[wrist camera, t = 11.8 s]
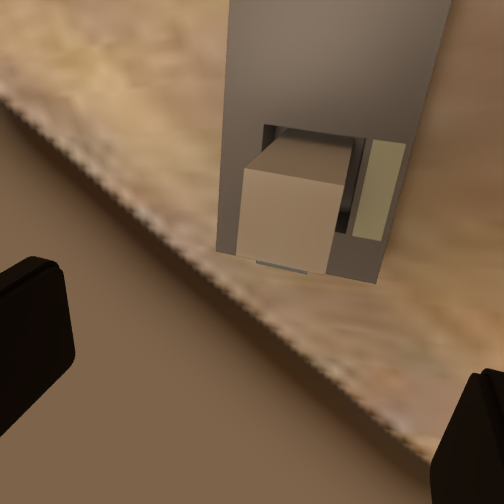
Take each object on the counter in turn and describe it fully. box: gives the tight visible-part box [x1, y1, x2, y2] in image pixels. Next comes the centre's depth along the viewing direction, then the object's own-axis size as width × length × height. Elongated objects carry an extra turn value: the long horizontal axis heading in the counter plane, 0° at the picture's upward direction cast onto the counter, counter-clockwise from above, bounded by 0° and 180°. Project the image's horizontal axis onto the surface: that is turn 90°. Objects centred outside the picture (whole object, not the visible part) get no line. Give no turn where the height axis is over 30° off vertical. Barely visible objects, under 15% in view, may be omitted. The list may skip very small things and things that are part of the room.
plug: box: [236, 128, 354, 275], centre depth 21 cm, size 4×5×10 cm
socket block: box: [216, 0, 452, 284], centre depth 21 cm, size 10×24×4 cm, turn 175°
